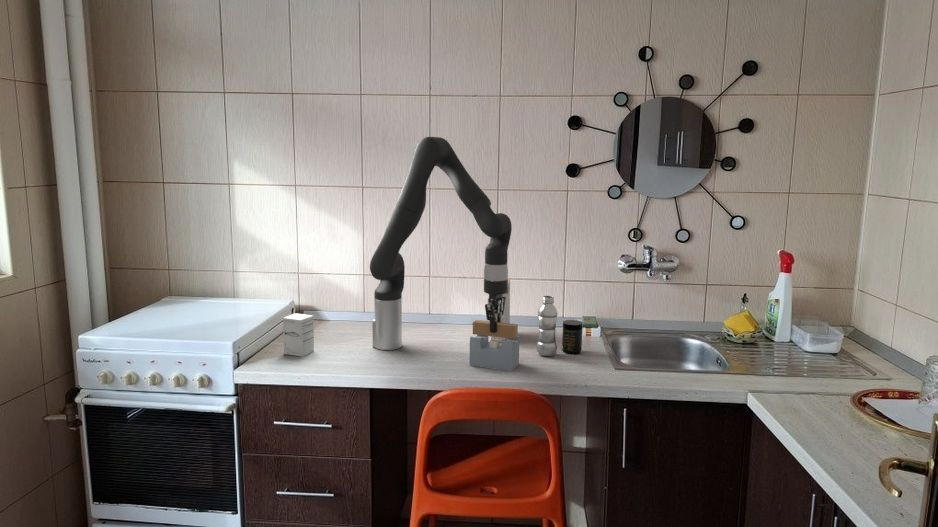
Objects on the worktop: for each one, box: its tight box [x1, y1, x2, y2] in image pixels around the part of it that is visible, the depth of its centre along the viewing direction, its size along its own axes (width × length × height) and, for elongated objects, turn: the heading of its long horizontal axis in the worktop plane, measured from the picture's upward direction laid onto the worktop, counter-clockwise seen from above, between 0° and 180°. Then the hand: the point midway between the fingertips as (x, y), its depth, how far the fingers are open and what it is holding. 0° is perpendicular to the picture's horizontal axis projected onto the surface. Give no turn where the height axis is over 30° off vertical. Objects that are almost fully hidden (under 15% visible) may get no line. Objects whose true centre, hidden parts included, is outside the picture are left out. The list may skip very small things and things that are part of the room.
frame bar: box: [472, 319, 519, 339], centre depth 218 cm, size 14×3×4 cm, turn 69°
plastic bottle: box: [536, 295, 558, 357], centre depth 228 cm, size 6×7×20 cm
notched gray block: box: [468, 335, 520, 372], centre depth 219 cm, size 14×8×9 cm, turn 69°
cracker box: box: [490, 277, 511, 343], centre depth 248 cm, size 14×6×21 cm, turn 172°
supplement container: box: [561, 319, 584, 356], centre depth 233 cm, size 7×7×10 cm
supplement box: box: [282, 313, 315, 358], centre depth 228 cm, size 7×7×13 cm
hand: (495, 330), depth 218 cm, fingers closed on frame bar, 3 cm apart
